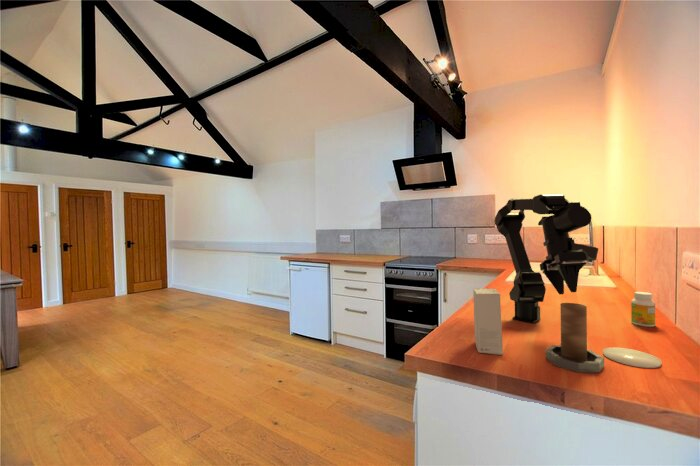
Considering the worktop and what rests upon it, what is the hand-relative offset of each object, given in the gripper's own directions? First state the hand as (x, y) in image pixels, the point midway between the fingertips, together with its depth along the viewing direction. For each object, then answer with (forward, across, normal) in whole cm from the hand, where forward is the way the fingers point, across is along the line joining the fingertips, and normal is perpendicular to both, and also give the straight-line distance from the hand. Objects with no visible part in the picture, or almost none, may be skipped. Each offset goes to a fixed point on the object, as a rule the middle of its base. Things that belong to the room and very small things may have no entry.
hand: (567, 293), depth 83 cm
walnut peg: (+16, -11, +5) cm, 20 cm away
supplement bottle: (+9, +25, -26) cm, 37 cm away
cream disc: (+15, -5, -9) cm, 18 cm away
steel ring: (+16, -11, +5) cm, 20 cm away
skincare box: (+14, -7, +22) cm, 27 cm away
